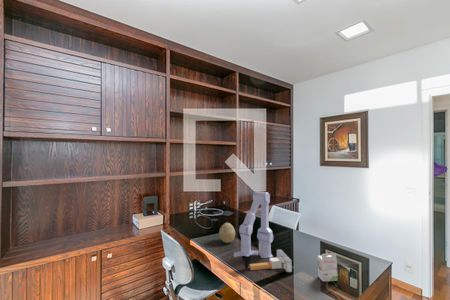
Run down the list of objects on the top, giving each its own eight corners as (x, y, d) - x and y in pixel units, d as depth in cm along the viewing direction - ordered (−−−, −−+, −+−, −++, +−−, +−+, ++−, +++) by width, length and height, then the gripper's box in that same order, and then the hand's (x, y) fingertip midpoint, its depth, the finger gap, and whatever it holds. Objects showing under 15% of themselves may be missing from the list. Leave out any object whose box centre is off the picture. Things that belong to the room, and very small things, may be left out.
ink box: (332, 275, 117) (332, 249, 118) (337, 281, 112) (337, 253, 113) (317, 276, 117) (317, 249, 117) (322, 281, 112) (321, 253, 112)
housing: (277, 260, 136) (276, 249, 136) (281, 259, 136) (281, 249, 136) (286, 272, 121) (286, 260, 122) (291, 271, 122) (291, 260, 122)
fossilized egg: (225, 247, 156) (224, 226, 156) (216, 241, 167) (216, 222, 167) (238, 242, 163) (238, 223, 163) (229, 237, 174) (229, 219, 174)
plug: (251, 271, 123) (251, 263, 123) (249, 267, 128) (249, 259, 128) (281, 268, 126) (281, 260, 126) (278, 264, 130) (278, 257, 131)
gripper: (235, 248, 120) (235, 272, 120) (259, 246, 123) (260, 270, 122) (233, 243, 127) (233, 266, 127) (256, 241, 130) (256, 264, 129)
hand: (246, 267), depth 125 cm, fingers closed
